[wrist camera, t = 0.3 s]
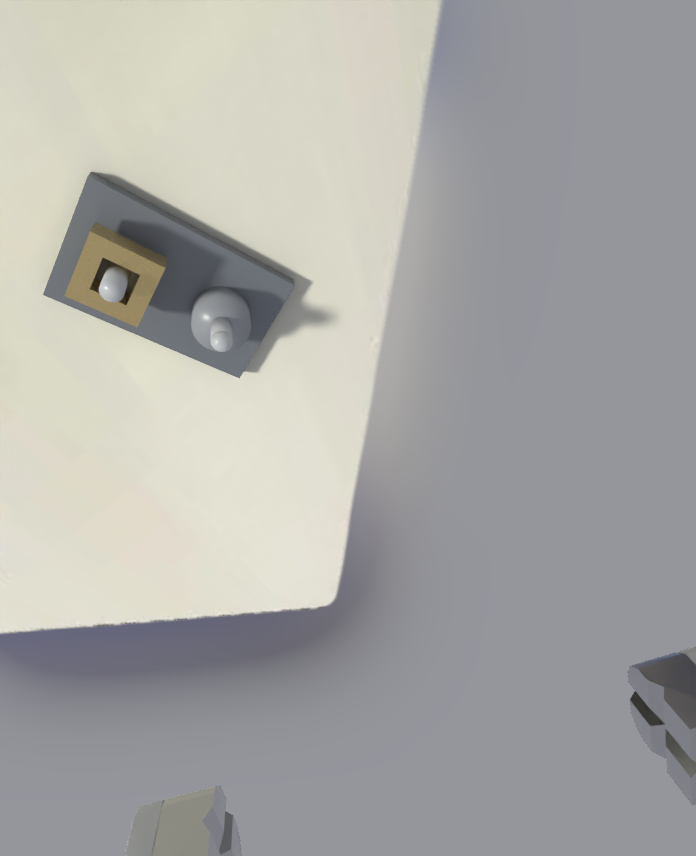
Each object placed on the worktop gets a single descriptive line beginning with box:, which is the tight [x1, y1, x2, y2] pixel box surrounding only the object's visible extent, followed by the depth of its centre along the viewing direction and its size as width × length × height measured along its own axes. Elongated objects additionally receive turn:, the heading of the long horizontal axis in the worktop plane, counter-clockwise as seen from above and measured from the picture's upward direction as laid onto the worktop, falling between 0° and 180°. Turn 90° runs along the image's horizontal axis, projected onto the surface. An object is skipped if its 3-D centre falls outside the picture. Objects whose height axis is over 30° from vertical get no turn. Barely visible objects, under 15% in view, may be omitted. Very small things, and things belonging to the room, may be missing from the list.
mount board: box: [43, 172, 295, 378], centre depth 53 cm, size 12×20×8 cm, turn 57°
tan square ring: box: [64, 222, 167, 327], centre depth 51 cm, size 6×6×2 cm
